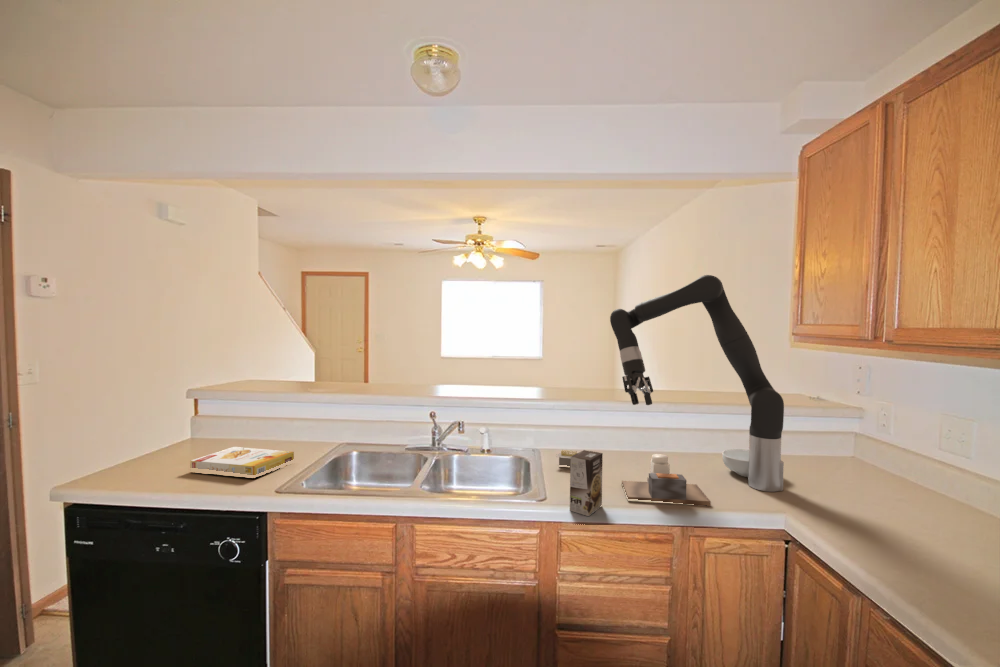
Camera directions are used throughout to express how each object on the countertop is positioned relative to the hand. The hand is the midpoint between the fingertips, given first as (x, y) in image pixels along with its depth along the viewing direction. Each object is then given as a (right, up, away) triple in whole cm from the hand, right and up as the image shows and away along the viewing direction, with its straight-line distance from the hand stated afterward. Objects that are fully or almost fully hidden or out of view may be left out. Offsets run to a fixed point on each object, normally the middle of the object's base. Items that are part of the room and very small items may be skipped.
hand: (642, 404), depth 161 cm
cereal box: (-146, -25, +7) cm, 148 cm away
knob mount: (+1, -26, -17) cm, 31 cm away
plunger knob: (+2, -24, -11) cm, 27 cm away
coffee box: (-25, -27, -28) cm, 46 cm away
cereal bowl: (+39, -26, +3) cm, 47 cm away
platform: (-24, -26, +10) cm, 37 cm away
